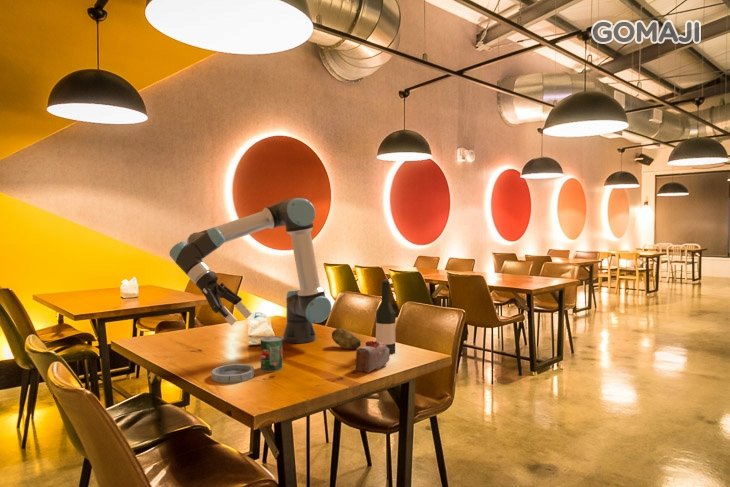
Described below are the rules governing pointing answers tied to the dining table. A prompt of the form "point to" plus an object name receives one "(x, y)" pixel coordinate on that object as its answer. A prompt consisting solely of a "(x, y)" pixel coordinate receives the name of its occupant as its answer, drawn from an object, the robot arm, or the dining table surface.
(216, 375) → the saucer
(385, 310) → the wine bottle
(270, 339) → the canned tomato
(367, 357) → the food item
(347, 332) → the potato
